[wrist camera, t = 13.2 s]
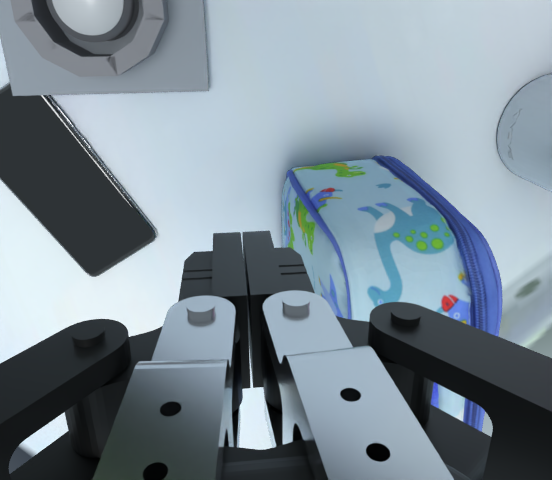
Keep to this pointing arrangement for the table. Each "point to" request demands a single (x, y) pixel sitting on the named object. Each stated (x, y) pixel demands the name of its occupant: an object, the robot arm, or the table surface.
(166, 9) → the square flange plate
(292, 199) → the lunch box
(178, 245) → the table surface
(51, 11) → the cap
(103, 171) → the smartphone
